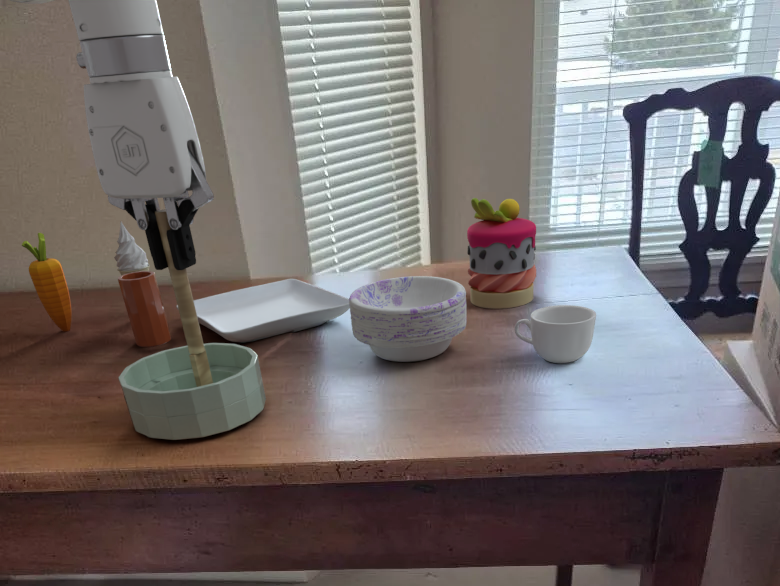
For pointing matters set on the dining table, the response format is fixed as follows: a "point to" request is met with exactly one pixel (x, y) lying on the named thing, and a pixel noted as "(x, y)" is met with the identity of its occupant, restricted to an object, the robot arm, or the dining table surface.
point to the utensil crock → (145, 308)
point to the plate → (269, 310)
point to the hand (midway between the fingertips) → (176, 265)
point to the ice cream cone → (129, 254)
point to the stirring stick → (186, 309)
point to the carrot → (50, 285)
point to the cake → (501, 256)
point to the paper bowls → (408, 316)
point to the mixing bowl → (193, 392)
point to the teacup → (560, 332)
